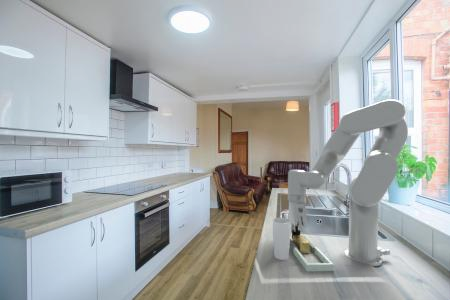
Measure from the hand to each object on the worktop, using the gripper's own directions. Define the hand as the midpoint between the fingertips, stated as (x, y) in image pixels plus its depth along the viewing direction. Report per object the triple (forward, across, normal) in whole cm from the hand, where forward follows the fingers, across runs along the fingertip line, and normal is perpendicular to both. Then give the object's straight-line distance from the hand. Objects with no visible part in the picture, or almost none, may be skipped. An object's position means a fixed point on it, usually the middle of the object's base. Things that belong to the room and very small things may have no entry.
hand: (295, 239), depth 99 cm
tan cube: (+1, -8, 0) cm, 8 cm away
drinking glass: (+3, -13, +10) cm, 16 cm away
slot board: (+2, -4, 0) cm, 5 cm away
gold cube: (+1, -4, 0) cm, 4 cm away
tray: (+2, -16, 0) cm, 16 cm away
